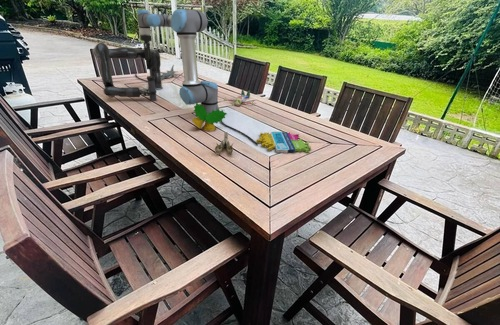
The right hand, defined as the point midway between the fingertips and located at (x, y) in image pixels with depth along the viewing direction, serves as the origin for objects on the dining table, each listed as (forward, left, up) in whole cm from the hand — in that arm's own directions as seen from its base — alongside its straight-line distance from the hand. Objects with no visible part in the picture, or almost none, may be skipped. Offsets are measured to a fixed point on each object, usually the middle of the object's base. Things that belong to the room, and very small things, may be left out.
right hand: (149, 68), depth 197 cm
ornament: (-64, -36, -25) cm, 78 cm away
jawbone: (-97, -40, -25) cm, 107 cm away
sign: (-91, -74, -25) cm, 120 cm away
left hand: (0, -3, -18) cm, 18 cm away
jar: (0, 0, -25) cm, 25 cm away
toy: (-8, -71, -25) cm, 75 cm away
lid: (0, 0, -7) cm, 7 cm away
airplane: (+85, -12, -25) cm, 89 cm away
